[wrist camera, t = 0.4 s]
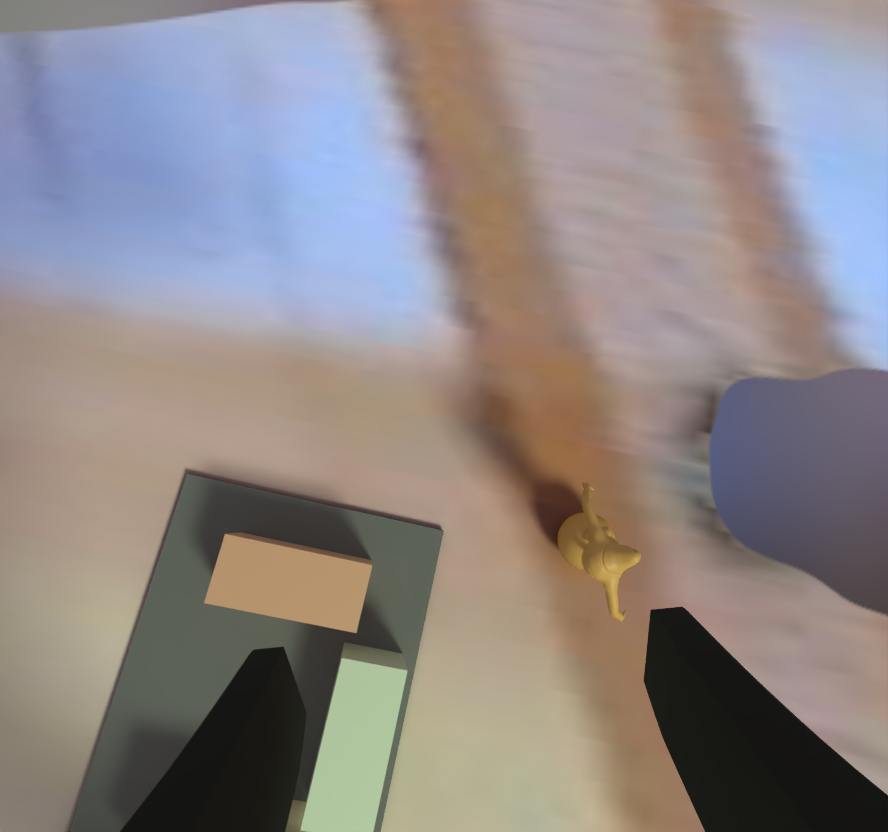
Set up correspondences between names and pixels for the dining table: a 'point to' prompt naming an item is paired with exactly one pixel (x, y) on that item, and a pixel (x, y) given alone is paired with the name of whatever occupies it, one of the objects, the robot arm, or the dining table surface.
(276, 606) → the tan rectangular block
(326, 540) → the mat
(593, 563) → the figurine
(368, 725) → the sage brick
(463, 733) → the dining table surface
